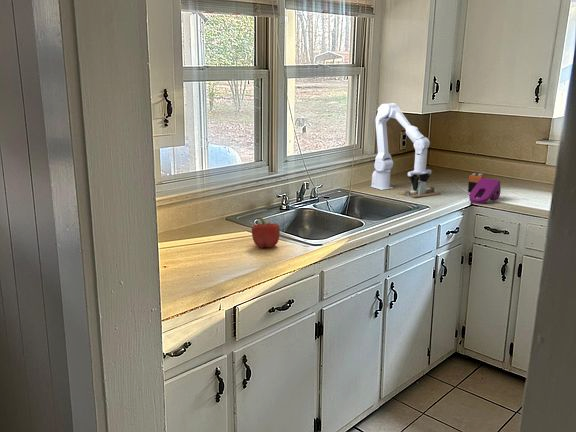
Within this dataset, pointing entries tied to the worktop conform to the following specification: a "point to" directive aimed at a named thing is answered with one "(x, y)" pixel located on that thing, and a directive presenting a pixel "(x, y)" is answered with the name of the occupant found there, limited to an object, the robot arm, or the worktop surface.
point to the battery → (474, 180)
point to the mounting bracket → (485, 191)
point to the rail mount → (415, 194)
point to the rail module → (421, 187)
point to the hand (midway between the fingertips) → (418, 188)
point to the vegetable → (265, 234)
